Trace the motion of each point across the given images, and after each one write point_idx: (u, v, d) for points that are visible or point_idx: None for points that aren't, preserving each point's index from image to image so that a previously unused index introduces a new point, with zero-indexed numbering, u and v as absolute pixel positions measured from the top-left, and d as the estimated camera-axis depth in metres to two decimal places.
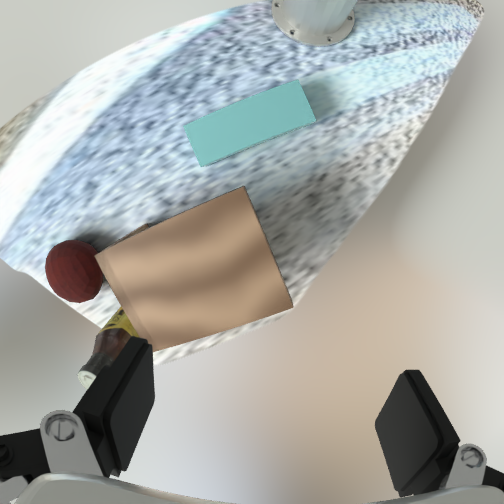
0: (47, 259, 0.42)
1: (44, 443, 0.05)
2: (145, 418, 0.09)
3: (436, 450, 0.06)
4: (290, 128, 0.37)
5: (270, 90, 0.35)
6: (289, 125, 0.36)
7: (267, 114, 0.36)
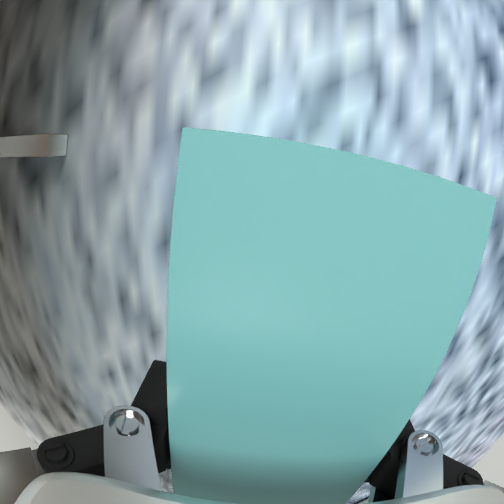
0: None
1: (104, 434, 0.06)
2: None
3: None
4: None
5: None
6: None
7: (260, 502, 0.08)
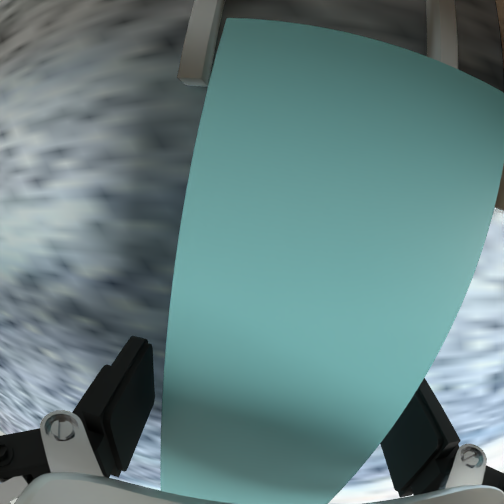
0: None
1: (44, 443, 0.05)
2: (145, 418, 0.09)
3: (436, 450, 0.06)
4: (165, 455, 0.09)
5: (326, 499, 0.07)
6: (176, 460, 0.08)
7: (254, 455, 0.07)
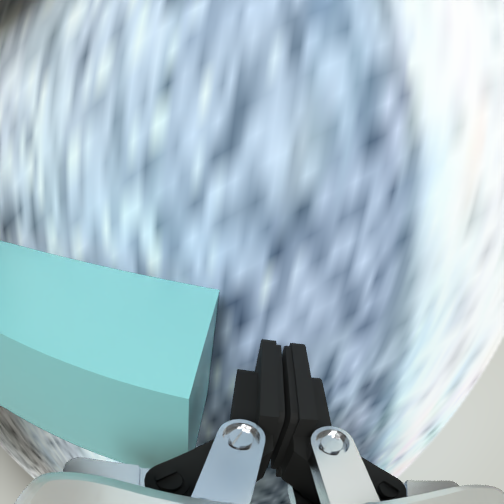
0: None
1: (214, 442, 0.06)
2: None
3: (291, 425, 0.07)
4: (103, 454, 0.09)
5: (54, 362, 0.07)
6: (102, 450, 0.09)
7: (41, 401, 0.08)
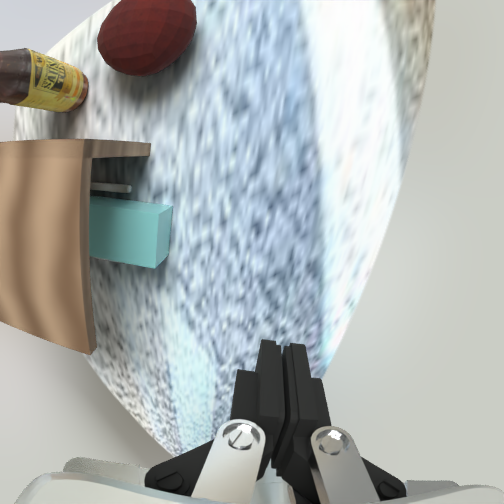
0: (180, 1, 0.22)
1: (214, 442, 0.06)
2: None
3: (291, 425, 0.07)
4: (126, 261, 0.32)
5: (124, 210, 0.30)
6: (126, 258, 0.32)
7: (110, 234, 0.31)
